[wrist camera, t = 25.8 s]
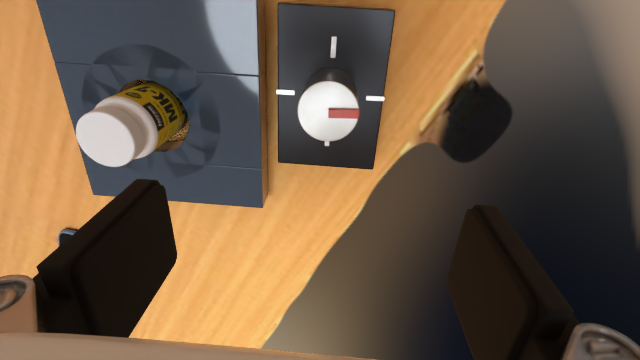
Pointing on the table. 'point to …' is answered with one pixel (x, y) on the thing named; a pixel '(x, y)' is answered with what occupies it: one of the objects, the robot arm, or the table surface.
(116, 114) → the supplement bottle
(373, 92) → the black dial plate
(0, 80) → the table surface
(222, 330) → the table surface
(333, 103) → the rotary control knob
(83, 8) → the blue-grey patterned panel
